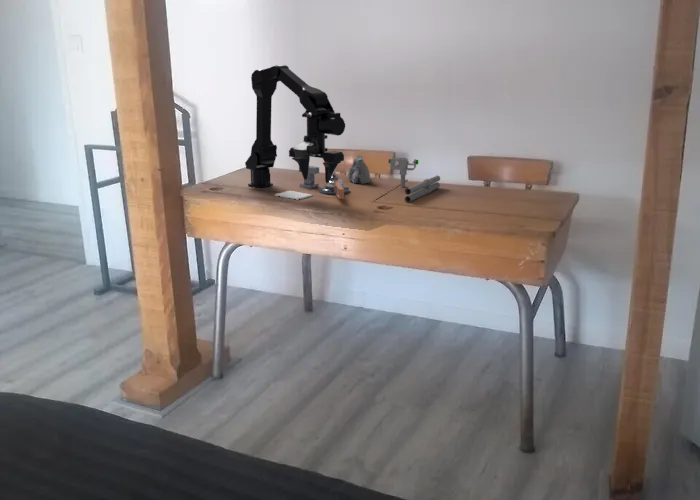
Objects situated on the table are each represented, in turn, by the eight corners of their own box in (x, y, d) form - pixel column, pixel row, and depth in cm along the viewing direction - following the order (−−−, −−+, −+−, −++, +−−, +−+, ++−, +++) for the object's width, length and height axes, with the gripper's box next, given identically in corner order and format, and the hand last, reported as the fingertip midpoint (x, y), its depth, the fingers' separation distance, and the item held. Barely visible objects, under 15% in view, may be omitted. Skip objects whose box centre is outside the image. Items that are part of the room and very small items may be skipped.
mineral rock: (351, 176, 264) (351, 150, 261) (378, 178, 261) (379, 151, 258) (340, 183, 252) (340, 155, 249) (368, 185, 249) (368, 157, 246)
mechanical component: (416, 188, 244) (417, 159, 241) (387, 187, 246) (388, 158, 243) (417, 186, 247) (418, 158, 244) (388, 185, 249) (389, 157, 246)
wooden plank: (324, 186, 240) (324, 163, 238) (341, 185, 241) (341, 163, 239) (332, 199, 222) (332, 175, 219) (350, 198, 223) (350, 174, 220)
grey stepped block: (297, 186, 247) (297, 166, 244) (305, 184, 250) (305, 164, 248) (312, 188, 242) (312, 168, 240) (320, 186, 246) (320, 166, 244)
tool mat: (274, 195, 231) (274, 194, 231) (289, 192, 237) (289, 190, 237) (297, 200, 226) (297, 198, 225) (312, 196, 231) (312, 194, 231)
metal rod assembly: (411, 203, 223) (411, 188, 222) (403, 202, 224) (403, 187, 223) (441, 188, 245) (442, 174, 243) (434, 188, 246) (434, 174, 245)
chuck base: (313, 191, 238) (313, 188, 237) (331, 187, 245) (331, 184, 245) (336, 195, 232) (336, 193, 231) (354, 190, 239) (354, 188, 239)
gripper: (276, 132, 221) (277, 181, 226) (322, 137, 210) (322, 188, 215) (300, 128, 230) (300, 175, 234) (345, 134, 219) (344, 183, 223)
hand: (316, 180), depth 226 cm, fingers open, 9 cm apart
